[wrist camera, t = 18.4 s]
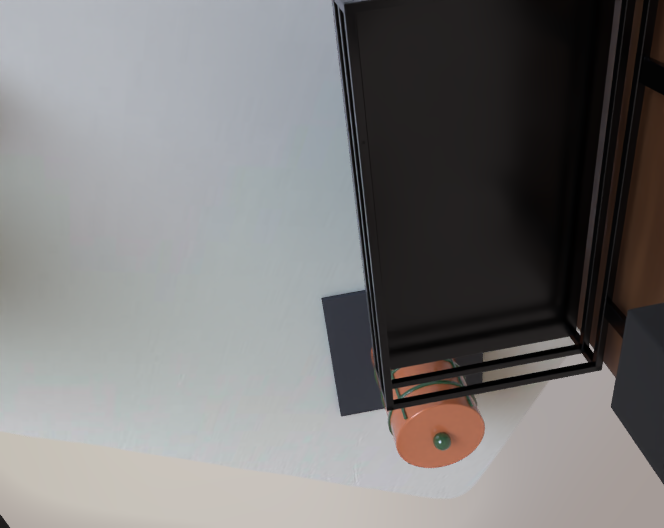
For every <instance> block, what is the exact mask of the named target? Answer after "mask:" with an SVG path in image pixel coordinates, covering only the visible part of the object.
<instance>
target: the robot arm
mask: <svg viewBox="0 0 664 528" xmlns="http://www.w3.org/2000/svg"><path fill="white" fill-rule="evenodd" d="M611 408H612V409H613V411H614V412H615V414H616V415H617V416H618V418H619V419H620V421H621V422H622V424H623V425H624V427H625V428H626V430H627V431H628V433H629V434H630V436H631V437H632V439H633V440H634V442H635V443H636V445H637V446H638V447H639V449H640V450H641V452H642V453H643V455H644V456H645V458H646V459H647V461H648V462H649V464H650V465H651V467H652V468H653V470H654V471H655V472H656V474H657V475H658V477H659V478H660V480H661V481H662V483H663V484H664V303H659V304H654V305H649V306H644V307H639V308H634V309H629V310H628V312H627V317H626V323H625V329H624V335H623V340H622V346H621V352H620V357H619V363H618V369H617V375H616V381H615V386H614V392H613V398H612V403H611ZM0 528H10V527H9V526H8V524H7V523H6V522H5V520H4V519H3V518H2V516H1V515H0Z"/></svg>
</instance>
